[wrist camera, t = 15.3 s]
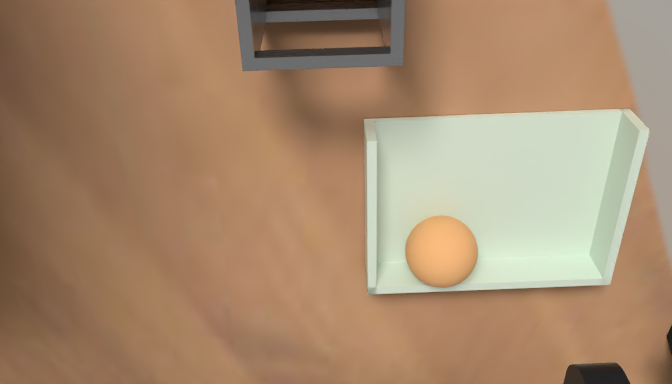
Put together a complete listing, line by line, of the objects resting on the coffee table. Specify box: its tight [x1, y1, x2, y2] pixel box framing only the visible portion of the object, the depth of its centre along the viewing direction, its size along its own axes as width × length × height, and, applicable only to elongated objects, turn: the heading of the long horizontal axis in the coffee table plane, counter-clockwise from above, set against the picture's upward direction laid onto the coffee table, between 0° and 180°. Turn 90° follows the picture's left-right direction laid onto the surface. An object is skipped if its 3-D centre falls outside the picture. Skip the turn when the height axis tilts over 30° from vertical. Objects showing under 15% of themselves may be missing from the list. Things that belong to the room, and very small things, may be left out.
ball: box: [405, 215, 478, 288], centre depth 36 cm, size 4×4×4 cm
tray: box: [364, 109, 650, 294], centre depth 36 cm, size 10×14×2 cm
